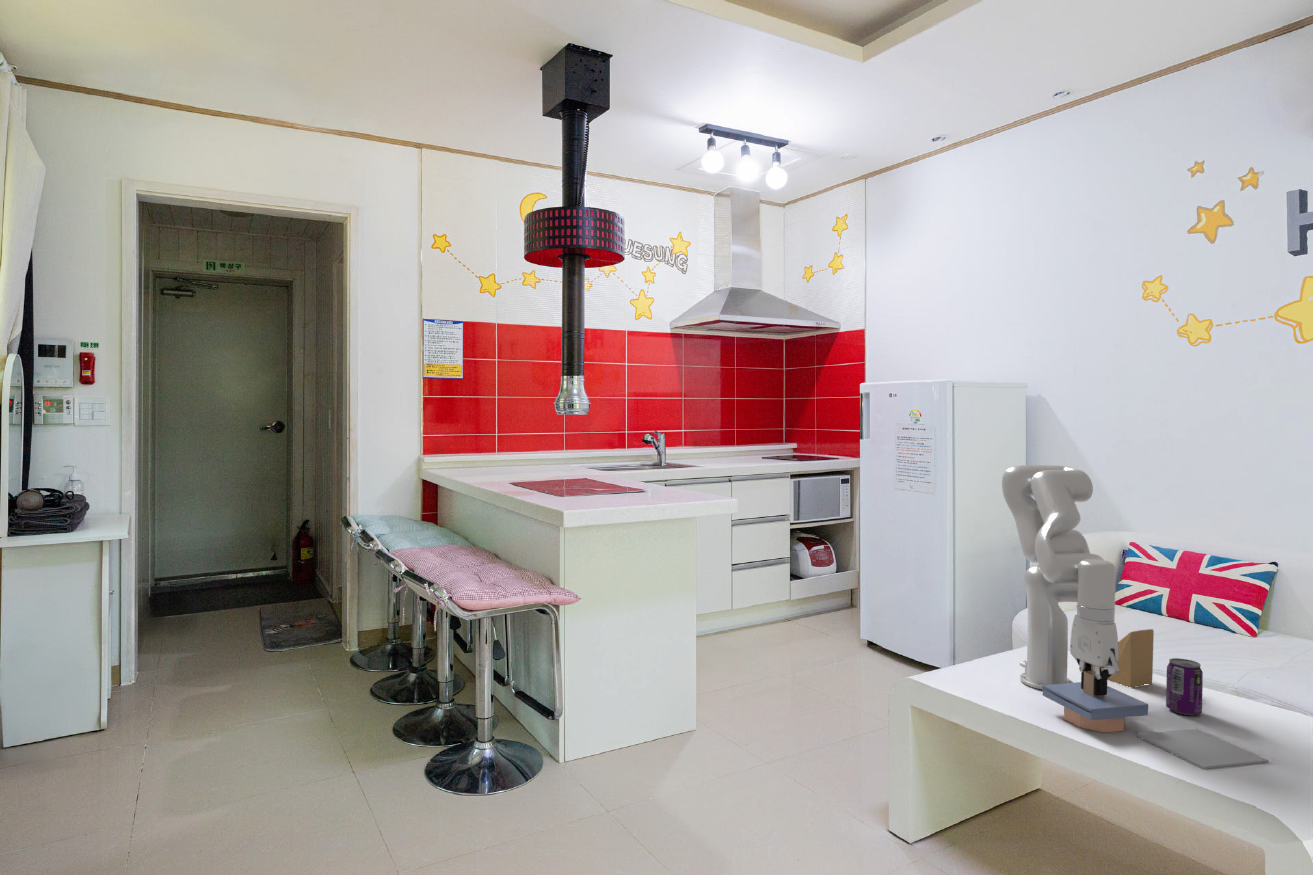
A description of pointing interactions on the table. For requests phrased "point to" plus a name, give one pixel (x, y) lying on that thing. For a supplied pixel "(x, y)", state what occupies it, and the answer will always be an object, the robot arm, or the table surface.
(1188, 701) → the beverage can
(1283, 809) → the table surface
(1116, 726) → the bowl
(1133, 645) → the sandwich container
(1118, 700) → the cover
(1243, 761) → the mat
